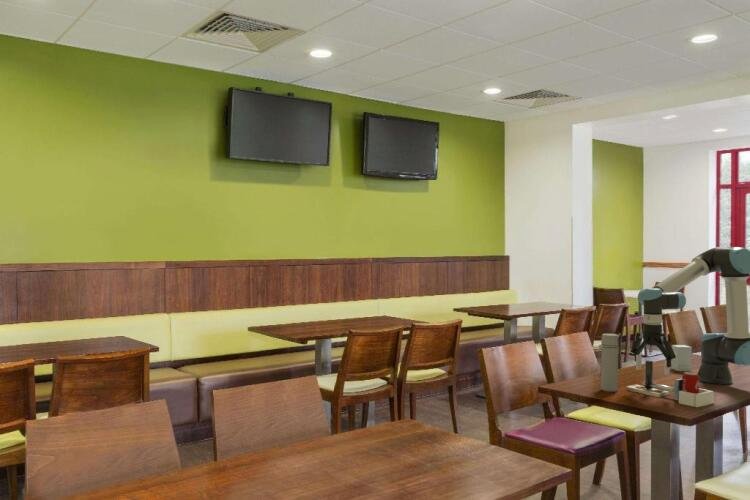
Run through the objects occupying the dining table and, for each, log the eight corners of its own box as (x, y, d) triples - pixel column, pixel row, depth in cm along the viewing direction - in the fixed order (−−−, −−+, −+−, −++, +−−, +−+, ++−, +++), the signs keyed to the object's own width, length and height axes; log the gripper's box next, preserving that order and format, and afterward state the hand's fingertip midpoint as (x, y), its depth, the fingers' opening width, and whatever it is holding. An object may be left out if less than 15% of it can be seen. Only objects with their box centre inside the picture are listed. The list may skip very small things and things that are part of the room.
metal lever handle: (638, 390, 287) (639, 360, 287) (648, 388, 291) (648, 359, 291) (678, 399, 272) (678, 367, 272) (687, 397, 276) (688, 366, 275)
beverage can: (701, 403, 268) (701, 374, 268) (685, 403, 268) (685, 374, 268) (695, 400, 274) (695, 371, 274) (679, 399, 275) (680, 371, 275)
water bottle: (618, 389, 292) (619, 334, 292) (617, 393, 285) (618, 336, 285) (597, 387, 296) (598, 332, 296) (595, 390, 289) (596, 334, 289)
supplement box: (691, 371, 336) (692, 347, 336) (677, 371, 336) (677, 346, 336) (685, 368, 343) (685, 344, 343) (670, 368, 343) (671, 344, 343)
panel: (636, 387, 296) (636, 383, 296) (669, 394, 283) (669, 390, 283) (625, 389, 292) (625, 385, 292) (658, 397, 278) (658, 392, 278)
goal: (695, 399, 276) (695, 387, 276) (713, 403, 269) (713, 391, 269) (678, 403, 269) (678, 391, 269) (697, 407, 262) (697, 394, 262)
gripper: (622, 321, 293) (622, 368, 294) (674, 327, 273) (674, 377, 273) (632, 320, 298) (632, 366, 298) (684, 326, 277) (684, 375, 277)
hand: (652, 371), depth 286 cm, fingers open, 13 cm apart
